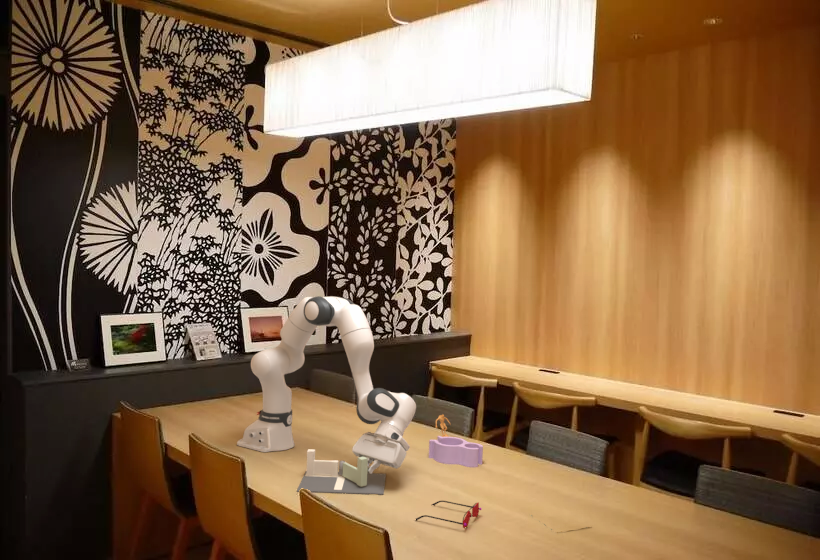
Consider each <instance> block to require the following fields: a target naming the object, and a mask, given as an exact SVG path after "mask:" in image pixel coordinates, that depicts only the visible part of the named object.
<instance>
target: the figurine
mask: <svg viewBox="0 0 820 560" xmlns="http://www.w3.org/2000/svg"><path fill="white" fill-rule="evenodd" d="M438 421H439V426H440V428H441V430H440V431H441V434H442V435H440V436H441V437H450V436H449V435H448V434H447V433H446V432H447V429H448V427H447V425H446V423H445V421H447V423H449V425H450V426H451V422H450V420H449V419H448V418H447V417H446V416H445V415H444V414H440V415H438V418H436V419H435V429H438V426H437V424H438Z"/></svg>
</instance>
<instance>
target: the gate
mask: <svg viewBox="0 0 820 560" xmlns="http://www.w3.org/2000/svg"><path fill="white" fill-rule="evenodd" d="M356 462H357V463H356V466H354V465H352V464H350V463H348V462H346V460H339V462H338V472H339V475H342V476H344V477H346V478H348V479H349V480H351V481H353V482H355V483H357V485H359V486H360V487H362V486H366V485H367V465H368V458H366V457H357V461H356Z"/></svg>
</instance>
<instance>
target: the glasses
mask: <svg viewBox="0 0 820 560" xmlns="http://www.w3.org/2000/svg"><path fill="white" fill-rule="evenodd" d="M439 503H448V504H452V505H456V506H463V507H466V508H469V509H468V510H467V511H466V512H465V513H464V515H463V517H462V522H459V521H454V520H450V519H445V518H442V517H441V518H440V517H438V516H437V517H436V516H432V515H426V514H425V515H421V516H419V517H417V518H415V519H416V521H418V520H419V519H423V518H424V517H425V518H427V517H428V518H431V519H435V520H439V521H440V520H441V521H444V522H449V523H454V524H458V525H462V528H463V529H465V527H467V526H469V523H470V521H471V518H476V516H477V515H478V516H479V513H480V511H481V510H482V507H480V502H475V503H474V504H473V505H472V506H471V505H467V504H463V503H457V502H452V501H447V500H439V501H436V502H434V503H432V504H431V506H432V505H434V506H436V505H438V504H439ZM467 528H468V527H467Z"/></svg>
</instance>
